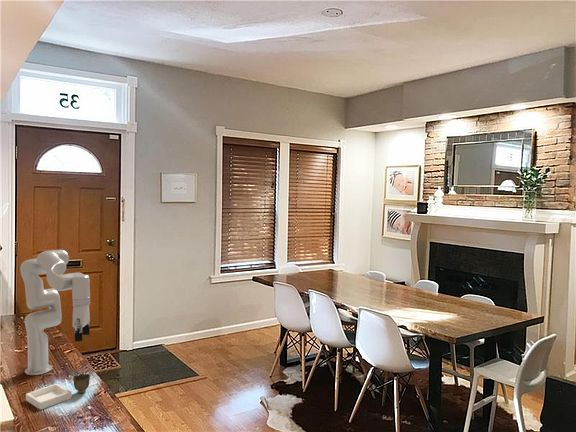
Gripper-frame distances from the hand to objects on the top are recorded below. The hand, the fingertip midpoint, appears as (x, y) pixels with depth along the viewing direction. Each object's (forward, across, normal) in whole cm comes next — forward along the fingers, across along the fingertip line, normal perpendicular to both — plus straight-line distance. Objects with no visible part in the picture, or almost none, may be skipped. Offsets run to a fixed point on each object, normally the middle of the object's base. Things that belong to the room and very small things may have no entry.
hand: (82, 337), depth 215 cm
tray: (+27, +3, -15) cm, 31 cm away
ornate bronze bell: (+27, -3, -2) cm, 28 cm away
